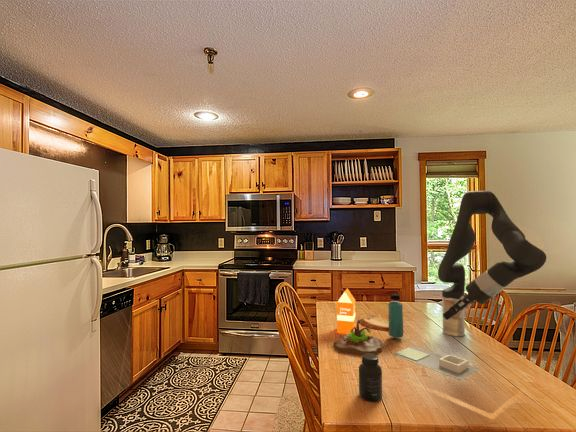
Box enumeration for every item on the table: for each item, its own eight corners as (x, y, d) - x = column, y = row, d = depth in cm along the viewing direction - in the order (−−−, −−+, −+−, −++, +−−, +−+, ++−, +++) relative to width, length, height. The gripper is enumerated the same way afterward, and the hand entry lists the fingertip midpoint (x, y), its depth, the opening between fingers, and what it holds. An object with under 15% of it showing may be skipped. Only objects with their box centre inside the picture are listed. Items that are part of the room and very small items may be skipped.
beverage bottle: (404, 341, 141) (404, 296, 141) (389, 340, 142) (388, 295, 142) (402, 336, 147) (401, 293, 148) (387, 335, 148) (387, 292, 149)
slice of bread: (402, 331, 155) (402, 324, 155) (364, 331, 155) (364, 323, 156) (391, 320, 173) (391, 313, 173) (358, 320, 173) (358, 313, 173)
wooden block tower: (450, 330, 117) (449, 297, 117) (461, 333, 114) (461, 300, 114) (444, 333, 114) (444, 299, 115) (456, 336, 111) (455, 301, 111)
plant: (386, 343, 140) (386, 317, 140) (377, 360, 123) (377, 330, 123) (342, 336, 149) (342, 312, 149) (328, 351, 132) (328, 323, 132)
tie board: (412, 348, 133) (412, 339, 133) (479, 371, 112) (479, 361, 112) (392, 356, 125) (392, 347, 125) (459, 383, 104) (459, 372, 104)
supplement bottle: (356, 390, 99) (355, 352, 99) (377, 389, 100) (377, 351, 100) (363, 403, 92) (362, 361, 93) (385, 402, 93) (385, 360, 93)
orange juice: (355, 328, 158) (355, 288, 159) (353, 334, 150) (353, 291, 151) (339, 327, 161) (339, 287, 162) (336, 332, 153) (336, 290, 153)
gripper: (481, 275, 114) (445, 303, 122) (470, 281, 104) (432, 311, 112) (498, 292, 111) (461, 320, 119) (489, 300, 100) (448, 329, 108)
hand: (447, 315), depth 115 cm, fingers closed on wooden block tower, 4 cm apart
